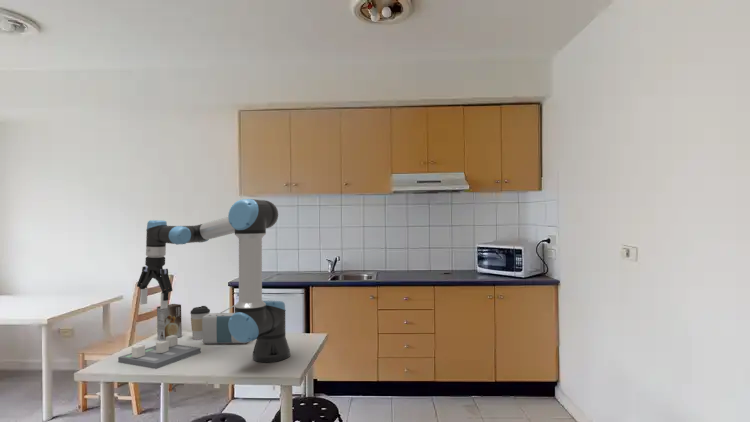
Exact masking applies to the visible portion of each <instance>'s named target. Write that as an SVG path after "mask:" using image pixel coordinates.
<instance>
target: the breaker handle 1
mask: <svg viewBox="0 0 750 422" xmlns="http://www.w3.org/2000/svg"><path fill="white" fill-rule="evenodd" d="M145 349H146V345H144V344H137V345H134V346H131V353H132V357H135V358H138V357H141V356H144V355H145Z"/></svg>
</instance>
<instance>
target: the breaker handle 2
mask: <svg viewBox="0 0 750 422" xmlns="http://www.w3.org/2000/svg"><path fill="white" fill-rule="evenodd" d="M166 341H169V347H172V346H175V345H179V344H178V338H177V336H176V335H171V336H168V337H166Z"/></svg>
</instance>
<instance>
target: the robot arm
mask: <svg viewBox="0 0 750 422" xmlns="http://www.w3.org/2000/svg"><path fill="white" fill-rule="evenodd" d="M278 219H279V210H278V208H277V206H276V205H275V204H274V203H273V202H272V201H269V200H265V199H253V198H245V199H244V198H243V199H239V200H236V201H235V202H234V203H233V204H232V205H231V206H230V208H229V212H228V215H227V216H226V217H225V216H224V217H223V218H218V219H214V220H212V221H207V222H204V223H200V224H196V225H168V224H167V221H166V220H164V219H163V220H158V219H157V220H155V219H153V220H152V219H150V220H148V221H147V224H146V225H147V226H146V231H145V232H146V235H145V236H146V237H145V238H146V241H145V243H146V244H145V255H146V257H145V261H144V262H145V263H144V265H145V266H144V265H143V266H142V267H141V273H140V276H139V279H138V280H137V284H136V287H137V288H138V289H140V290H139V291H140V297H139V299H140V300H139V304H140V305H146V304H148V292H149V291H148V290H149V289H148V288H149V287H148V286H149V284H150V283H151V281H152V279H154V280H155V281H157V283H158V286H159V287H160V290H161V293H160V306H161V307H160V309H164V308H167V306H168V305H169V304H168V303H169V301H168V300H169V293H170V292H173V287H172V284H171V280H170V276H169V269H168V268H163V267H164V266H165V265H166V257H165V256H166V253H167V251H166V250H167V249H166V248H167V244H171V245H187V244H192V243H194V244H195V243H205V242H208V241H209V240H212V239H216V238H220V237H223V236H227V235H231V234H234V235H235V236H236V237H237V239H238V302H236V304H234V305H235V306H234V313H235V314H233V315H232V316H231V318H230V319H229V322H228V328H229V331H230V334H231V335H232V336H233V337H234V339H236V340H237V341H239V342H246V343H249V342H253V341H255V340H256V341H255V343H254V347H253V351H252V360H253V361H255V362H258V363H274V362H280V361H283V360H286V359H288V358H290V356H291V350H290V347H289V343H288V340H287V336H286V335H287V334H286V305H285V302H283V301H281V300H263V274H262V273H263V269H262V268H263V254H262V253H263V250H262V249H263V245H262V244H263V237H264V236H265V235H266V234H267V229H269V228H271V227H274V226H275V224H276V223H277V221H278Z"/></svg>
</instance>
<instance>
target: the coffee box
mask: <svg viewBox="0 0 750 422" xmlns="http://www.w3.org/2000/svg"><path fill="white" fill-rule="evenodd" d="M160 307H161V305H159V306H157V307H156V318H157V319H156V324H157V326H156V329H157V331H156V333H157V335H156V337H157V339H156V340H159V341H166V337H168V336H171V335H176V336H177V339H178V338H182V337H183V334H182V332H183V331H182V329H183V328H182V304H179V303H171V304H168V306H167V308H164V309H160Z"/></svg>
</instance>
